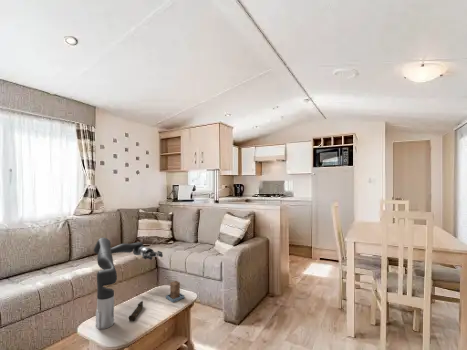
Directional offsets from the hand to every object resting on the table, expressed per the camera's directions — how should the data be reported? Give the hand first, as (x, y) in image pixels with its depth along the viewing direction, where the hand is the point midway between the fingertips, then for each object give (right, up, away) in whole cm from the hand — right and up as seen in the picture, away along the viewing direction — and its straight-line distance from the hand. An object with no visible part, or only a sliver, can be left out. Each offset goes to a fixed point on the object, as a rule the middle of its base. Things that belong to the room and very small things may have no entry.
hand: (156, 257), depth 193 cm
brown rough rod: (-6, -30, -24) cm, 39 cm away
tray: (+14, -30, -2) cm, 33 cm away
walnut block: (+14, -29, -2) cm, 33 cm away
